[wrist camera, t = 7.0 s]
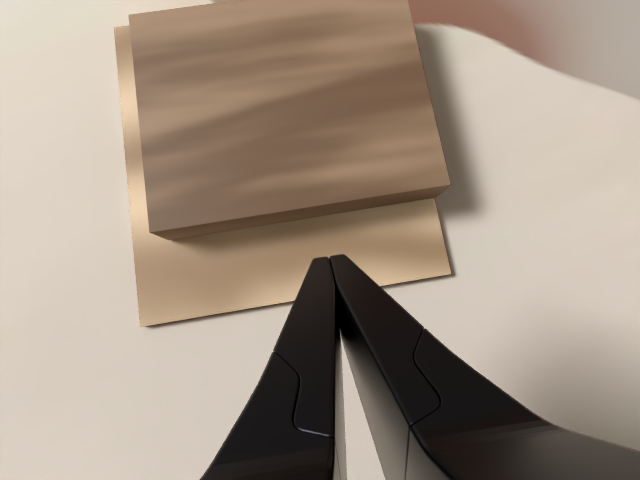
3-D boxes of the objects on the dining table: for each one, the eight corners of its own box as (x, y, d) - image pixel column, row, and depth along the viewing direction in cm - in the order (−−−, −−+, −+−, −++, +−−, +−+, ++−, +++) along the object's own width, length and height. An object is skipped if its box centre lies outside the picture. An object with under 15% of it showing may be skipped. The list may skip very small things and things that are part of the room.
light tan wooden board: (448, 274, 20) (451, 273, 20) (143, 326, 20) (140, 326, 19) (386, -5, 23) (387, -10, 23) (117, 32, 23) (113, 27, 22)
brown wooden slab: (450, 184, 18) (402, -22, 20) (149, 232, 18) (128, 14, 19) (434, 198, 21) (392, 13, 23) (169, 240, 20) (149, 47, 22)
